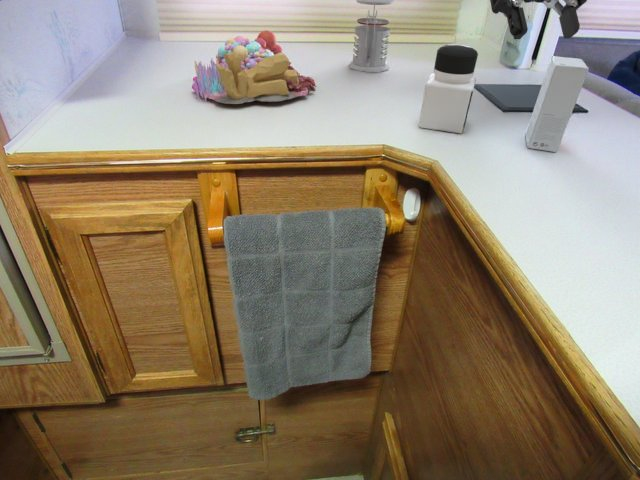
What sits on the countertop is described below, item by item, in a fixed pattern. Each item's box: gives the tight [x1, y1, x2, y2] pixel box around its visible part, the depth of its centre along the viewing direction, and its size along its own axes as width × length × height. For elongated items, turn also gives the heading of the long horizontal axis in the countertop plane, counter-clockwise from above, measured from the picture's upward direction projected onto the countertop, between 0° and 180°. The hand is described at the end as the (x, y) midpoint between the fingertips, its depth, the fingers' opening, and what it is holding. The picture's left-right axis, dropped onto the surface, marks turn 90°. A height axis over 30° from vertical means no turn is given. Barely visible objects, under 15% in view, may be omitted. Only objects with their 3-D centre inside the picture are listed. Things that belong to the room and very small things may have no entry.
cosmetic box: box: [525, 55, 590, 153], centre depth 62 cm, size 6×4×12 cm
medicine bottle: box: [418, 44, 479, 135], centre depth 67 cm, size 7×7×12 cm
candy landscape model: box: [191, 29, 317, 105], centre depth 81 cm, size 25×24×9 cm
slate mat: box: [474, 83, 589, 114], centre depth 83 cm, size 16×16×1 cm
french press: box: [348, 0, 395, 73], centre depth 92 cm, size 10×12×25 cm
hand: (546, 35), depth 61 cm, fingers open, 8 cm apart
